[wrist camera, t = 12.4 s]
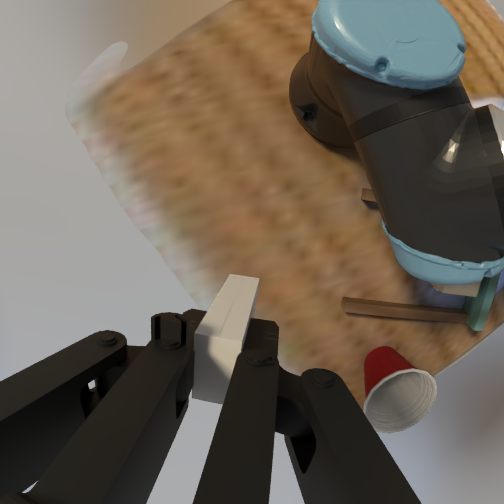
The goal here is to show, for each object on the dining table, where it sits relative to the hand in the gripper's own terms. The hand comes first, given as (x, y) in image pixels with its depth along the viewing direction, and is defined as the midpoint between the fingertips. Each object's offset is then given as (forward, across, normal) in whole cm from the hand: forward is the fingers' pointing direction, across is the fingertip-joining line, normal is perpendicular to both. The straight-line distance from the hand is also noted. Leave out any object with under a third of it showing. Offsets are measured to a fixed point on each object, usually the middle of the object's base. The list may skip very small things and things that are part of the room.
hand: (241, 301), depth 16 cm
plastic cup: (+27, +21, -18) cm, 38 cm away
